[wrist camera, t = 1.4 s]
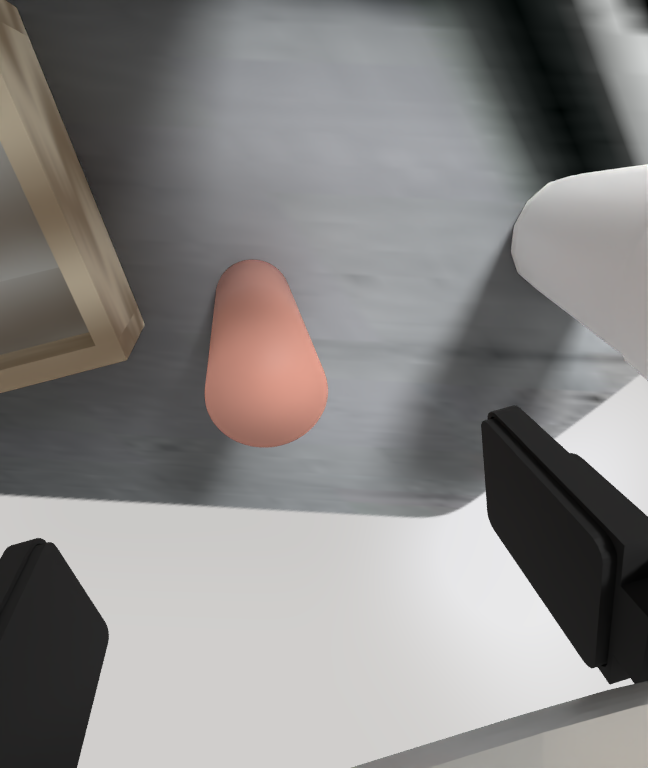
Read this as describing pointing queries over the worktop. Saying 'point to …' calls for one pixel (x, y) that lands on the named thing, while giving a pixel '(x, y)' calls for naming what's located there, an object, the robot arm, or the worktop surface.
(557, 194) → the foam cup
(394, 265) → the worktop surface
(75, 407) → the worktop surface
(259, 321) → the peg
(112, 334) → the box
